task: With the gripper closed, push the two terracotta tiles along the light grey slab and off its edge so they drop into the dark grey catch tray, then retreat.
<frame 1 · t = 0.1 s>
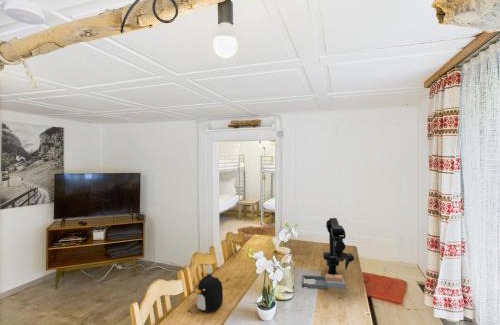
hand: (338, 269, 166), 15 cm above the table, fingers open, 9 cm apart
front tile: (329, 279, 176), point 3 cm above the table, touching light grey slab
penguin: (210, 306, 153), on the table
food container: (286, 289, 171), on the table
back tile: (338, 280, 175), point 3 cm above the table, touching light grey slab
tray: (314, 283, 178), on the table
light grey slab: (334, 284, 175), on the table
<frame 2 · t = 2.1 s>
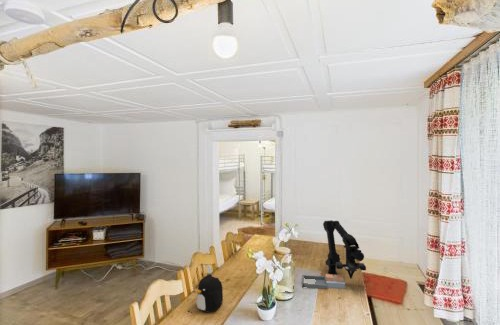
hand: (350, 278, 174), 5 cm above the table, fingers closed
nothing on the table moved.
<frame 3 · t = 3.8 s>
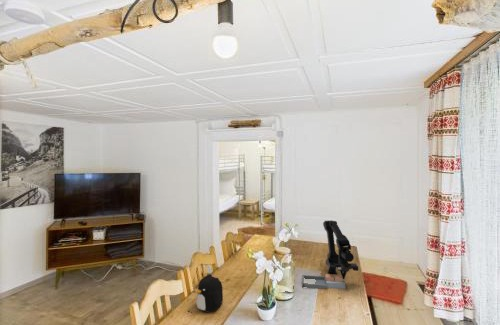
hand: (343, 278, 174), 4 cm above the table, fingers closed
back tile: (338, 279, 175), point 4 cm above the table, touching light grey slab, gripper
everything else where it was.
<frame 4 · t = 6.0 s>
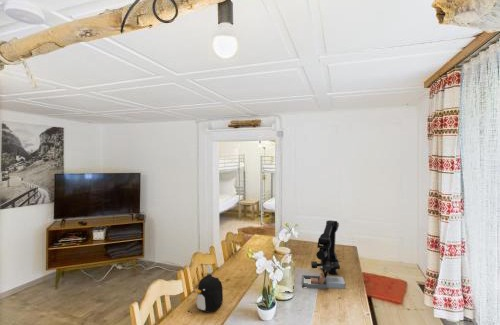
hand: (325, 277, 177), 5 cm above the table, fingers closed
front tile: (314, 279, 178), point 3 cm above the table, tilted 180°, touching tray
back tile: (323, 280, 177), point 2 cm above the table, tilted 67°, touching gripper, tray
everything else where it was.
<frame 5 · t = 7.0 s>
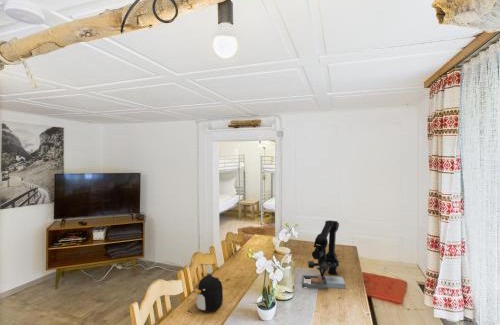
hand: (322, 277, 177), 5 cm above the table, fingers closed
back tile: (321, 279, 177), point 3 cm above the table, tilted 96°, touching gripper, tray
everything else where it was.
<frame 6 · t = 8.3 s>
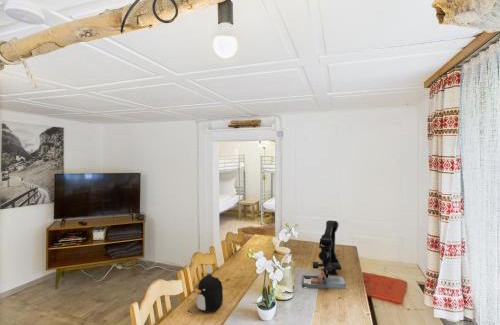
hand: (326, 277, 177), 4 cm above the table, fingers closed
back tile: (322, 279, 177), point 3 cm above the table, tilted 90°, touching tray
everything else where it was.
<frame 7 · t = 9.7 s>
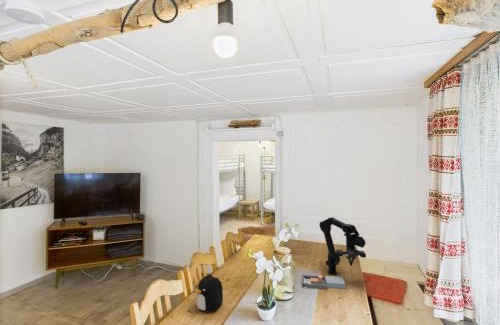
hand: (351, 265, 178), 12 cm above the table, fingers closed
nothing on the table moved.
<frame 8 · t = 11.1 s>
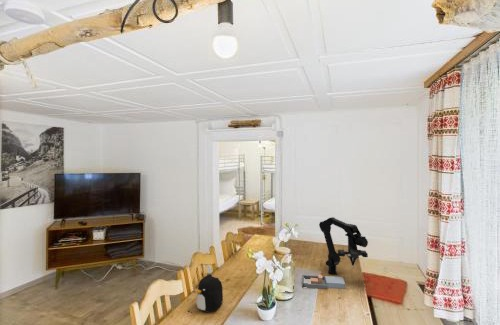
hand: (352, 265, 178), 12 cm above the table, fingers closed
nothing on the table moved.
at the end: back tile inside the target area on the tray (5.6 cm from its centre), point 2.7 cm above the tray's base; front tile inside the target area on the tray (0.3 cm from its centre), point 2.7 cm above the tray's base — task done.
